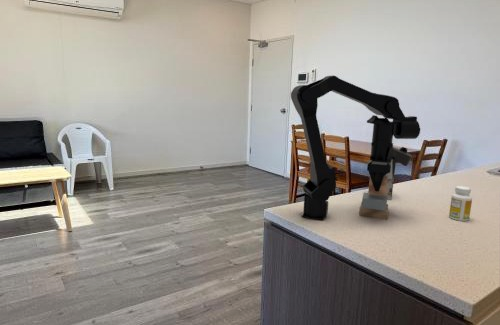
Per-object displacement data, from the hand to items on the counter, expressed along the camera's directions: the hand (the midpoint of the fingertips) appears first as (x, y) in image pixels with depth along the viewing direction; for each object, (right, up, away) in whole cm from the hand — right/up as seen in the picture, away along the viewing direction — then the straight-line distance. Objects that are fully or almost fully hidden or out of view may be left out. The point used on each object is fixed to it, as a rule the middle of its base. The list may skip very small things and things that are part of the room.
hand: (377, 189), depth 109 cm
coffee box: (+9, -4, +21) cm, 24 cm away
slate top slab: (-1, -5, +1) cm, 6 cm away
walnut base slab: (-1, -8, +2) cm, 9 cm away
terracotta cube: (0, -1, 0) cm, 1 cm away
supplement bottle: (+25, -9, -1) cm, 26 cm away
